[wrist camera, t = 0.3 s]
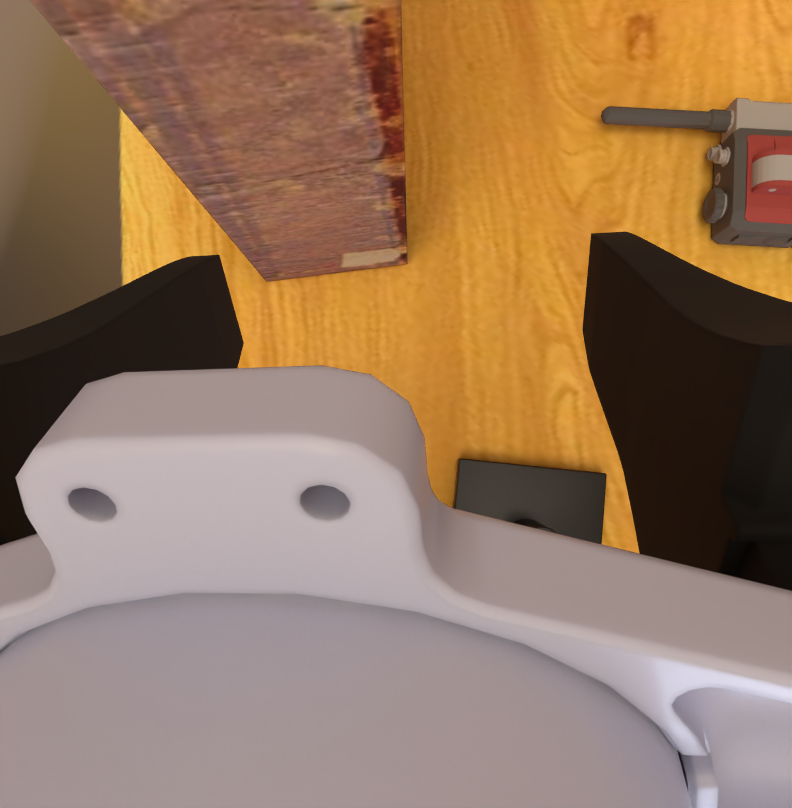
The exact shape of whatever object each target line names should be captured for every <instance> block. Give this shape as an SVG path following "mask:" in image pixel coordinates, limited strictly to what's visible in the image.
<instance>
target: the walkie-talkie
mask: <svg viewBox="0 0 792 808" xmlns="http://www.w3.org/2000/svg"><path fill="white" fill-rule="evenodd" d="M601 118H602V121H603V122H604V123H606V124H616V125H635V126H654V127H672V128H691V129H705V131H706V132H722V141H721V145H720V144H718V145H717V146H716V147H710V148H709V149H708V152H707V160H711V161H713V163H714V180H713V189H712V190H710V191H709V192H708V194H707V196H706V198H705V201H704V204H703V217H704V220H705V221H706V222H707V223H712V239H713V240H714V241H715V242H717V243H718V244H733V245H750V246H767V247H783V248H788V247H792V103H776V102H758V101H751V100H749V99H747V98H736V99H735V100H734V101H733V102H732V103H731V104H730V105H729V107H728V108H727V109H726V110H714V109H712V110H710V111H709V112H704V111H686V110H667V109H649V108H630V107H612V106H609V107H607V108H605V109H604V110H603V111H602V115H601Z"/></svg>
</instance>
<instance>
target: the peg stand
mask: <svg viewBox="0 0 792 808" xmlns="http://www.w3.org/2000/svg"><path fill="white" fill-rule="evenodd" d="M606 476H607V475H606V474H605V473H597V472H587V471H578V470H568V469H558V468H549V467H539V466H529V465H519V464H510V463H500V462H490V461H480V460H471V459H461V458H459V459H458V462H457V473H456V483H455V494H454V505H453V508H454V509H458V510H462V511H466V512H470V513H474V514H478V515H482V516H486V517H491V518H495V519H499V520H503V521H507V522H511V523H515V524H519V525H523V526H527V527H532V528H536V529H540V530H544V531H548V532H552V533H556V534H560V535H564V536H569V537H573V538H577V539H581V540H585V541H589V542H593V543H597V544H601V542H602V529H603V516H604V502H605V489H606Z"/></svg>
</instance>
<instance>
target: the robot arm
mask: <svg viewBox="0 0 792 808" xmlns="http://www.w3.org/2000/svg"><path fill="white" fill-rule="evenodd" d="M583 335H584V342H585V348H586V354H587V359H588V365H589V370H590V373H591V376H592V379H593V382H594V385H595V388H596V391H597V394H598V397H599V399H600V402H601V405H602V408H603V411H604V414H605V417H606V419H607V422H608V425H609V428H610V431H611V434H612V437H613V439H614V442H615V445H616V448H617V451H618V454H619V457H620V461H621V464H622V468H623V471H624V476H625V481H626V486H627V490H628V495H629V500H630V505H631V510H632V514H633V520H634V525H635V530H636V536H637V541H638V546H639V552H640V554H638V553H634V552H630V551H626V550H622V549H618V548H614V547H610V546H605V545H601V544H597V543H593V542H589V541H585V540H581V539H577V538H573V537H569V536H564V535H560V534H556V533H552V532H548V531H544V530H540V529H536V528H532V527H527V526H523V525H519V524H515V523H511V522H507V521H503V520H499V519H495V518H491V517H486V516H482V515H478V514H474V513H470V512H466V511H462V510H458V509H454V508H450V507H449V506H447V505H445V504H444V503H442V502H441V501H439V500H438V499H437V497H436V496H435V494H434V493H433V491H432V489H431V485H430V481H429V478H428V473H427V462H426V450H425V439H424V435H423V433H422V431H421V428H420V426H419V424H418V422H417V419H416V417H415V415H414V413H413V410H412V408H411V406H410V403H409V401H407V400H406V399H404V398H403V397H402V396H400V395H399V394H397V393H396V392H395V391H393V390H392V389H390V388H389V387H388V386H386V385H385V384H383V383H382V382H381V381H379V380H378V379H376V378H375V377H374V376H372V375H371V374H365V373H360V372H355V371H349V370H344V369H338V368H333V367H328V366H322V365H321V366H292V367H263V368H237V367H238V363H239V359H240V355H241V351H242V347H243V339H242V336H241V332H240V328H239V325H238V321H237V318H236V314H235V310H234V307H233V303H232V300H231V296H230V292H229V289H228V285H227V281H226V278H225V274H224V271H223V267H222V263H221V260H220V256H219V255H209V256H191V257H186V258H183V259H180V260H177V261H174V262H172V263H169V264H167V265H165V266H163V267H160V268H158V269H156V270H154V271H152V272H150V273H148V274H146V275H144V276H142V277H140V278H138V279H136V280H134V281H132V282H130V283H128V284H126V285H124V286H122V287H120V288H118V289H116V290H114V291H112V292H110V293H108V294H106V295H104V296H102V297H99V298H97V299H95V300H93V301H90V302H88V303H86V304H84V305H82V306H80V307H77V308H75V309H74V310H71V311H69V312H66V313H64V314H62V315H59V316H57V317H54V318H52V319H49V320H47V321H44V322H41V323H38V324H36V325H33V326H30V327H27V328H25V329H22V330H19V331H16V332H13V333H10V334H7V335H3V336H0V808H792V302H788V301H785V300H781V299H778V298H775V297H772V296H769V295H766V294H763V293H760V292H757V291H754V290H750V289H747V288H745V287H742V286H740V285H737V284H734V283H732V282H729V281H727V280H725V279H723V278H720V277H718V276H716V275H713V274H711V273H709V272H707V271H704V270H702V269H700V268H698V267H696V266H694V265H692V264H690V263H688V262H686V261H684V260H682V259H680V258H678V257H676V256H675V255H673V254H671V253H669V252H667V251H665V250H663V249H661V248H660V247H658V246H656V245H654V244H652V243H650V242H648V241H647V240H645V239H643V238H641V237H639V236H636V235H634V234H632V233H629V232H611V233H594V234H591V243H590V254H589V265H588V276H587V287H586V298H585V309H584V320H583Z"/></svg>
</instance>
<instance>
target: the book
mask: <svg viewBox="0 0 792 808" xmlns="http://www.w3.org/2000/svg"><path fill="white" fill-rule="evenodd" d="M30 1H31V2H32V4H33V5H34V6H35V7H36V8H37V10H38V11H39V12H40V13H41V14H42V15H43V17H44V18H45V19H46V20H47V21H48V23H49V24H50V25H51V26H52V27H53V29H54V30H55V31H56V32H57V33H58V35H59V36H60V37H61V38H62V39H63V40H64V41H65V43H66V44H67V45H68V46H69V47H70V49H71V50H72V51H73V52H74V53H75V55H76V56H77V57H78V58H79V59H80V61H81V62H82V63H83V64H84V65H85V67H86V68H87V69H88V70H89V71H90V72H91V74H92V75H93V76H94V77H95V78H96V80H97V81H98V82H99V83H100V84H101V86H102V87H103V88H104V89H105V90H106V91H107V93H108V94H109V95H110V96H111V97H112V99H113V100H114V101H115V102H116V103H117V105H118V106H119V107H120V108H121V109H122V110H123V112H124V113H125V114H126V115H127V116H128V118H129V119H130V120H131V121H132V122H133V124H134V125H135V126H136V127H137V128H138V129H139V131H140V132H141V133H142V134H143V135H144V137H145V138H146V139H147V140H148V141H149V143H150V144H151V145H152V146H153V147H154V148H155V150H156V151H157V152H158V153H159V154H160V156H161V157H162V158H163V159H164V160H165V162H166V163H167V164H168V165H169V166H170V167H171V169H172V170H173V171H174V172H175V173H176V175H177V176H178V177H179V178H180V179H181V181H182V182H183V183H184V184H185V185H186V186H187V188H188V189H189V190H190V191H191V192H192V194H193V195H194V196H195V197H196V198H197V200H198V201H199V202H200V203H201V204H202V205H203V207H204V208H205V209H206V210H207V211H208V213H209V214H210V215H211V216H212V217H213V219H214V220H215V221H216V222H217V223H218V224H219V226H220V227H221V228H222V229H223V230H224V232H225V233H226V234H227V235H228V236H229V238H230V239H231V240H232V241H233V242H234V243H235V245H236V246H237V247H238V248H239V249H240V251H241V252H242V253H243V254H244V255H245V257H246V258H247V259H248V260H249V261H250V262H251V264H252V265H253V266H254V267H255V268H256V270H257V271H258V272H259V273H260V274H261V276H262V277H263V278H264V279H265V280H266V281H274V280H282V279H290V278H298V277H306V276H314V275H322V274H330V273H338V272H346V271H354V270H362V269H370V268H378V267H386V266H394V265H402V264H407V229H406V188H405V146H404V105H403V63H402V22H401V0H30Z"/></svg>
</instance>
